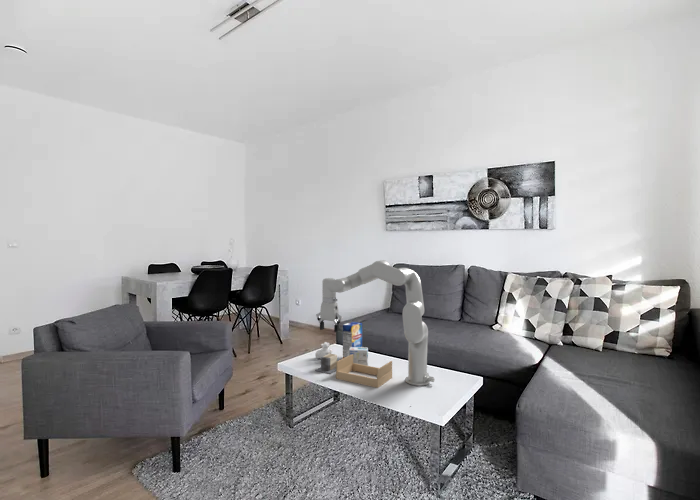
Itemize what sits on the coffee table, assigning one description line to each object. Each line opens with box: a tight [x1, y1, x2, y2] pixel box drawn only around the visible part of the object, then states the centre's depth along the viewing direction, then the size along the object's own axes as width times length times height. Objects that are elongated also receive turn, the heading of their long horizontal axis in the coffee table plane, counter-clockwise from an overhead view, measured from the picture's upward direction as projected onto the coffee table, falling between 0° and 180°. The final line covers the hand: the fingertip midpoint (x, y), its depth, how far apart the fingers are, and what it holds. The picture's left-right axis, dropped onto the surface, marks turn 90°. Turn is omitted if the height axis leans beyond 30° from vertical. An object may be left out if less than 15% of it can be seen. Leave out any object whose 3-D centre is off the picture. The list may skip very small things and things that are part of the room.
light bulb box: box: [349, 346, 369, 366], centre depth 230 cm, size 11×7×11 cm, turn 84°
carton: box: [335, 354, 393, 389], centre depth 211 cm, size 25×17×9 cm
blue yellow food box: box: [342, 321, 363, 359], centre depth 243 cm, size 7×11×22 cm, turn 143°
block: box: [320, 353, 338, 371], centre depth 224 cm, size 5×9×7 cm, turn 149°
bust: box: [315, 341, 333, 360], centre depth 245 cm, size 12×8×11 cm
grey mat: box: [315, 366, 336, 375], centre depth 225 cm, size 10×12×1 cm
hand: (329, 330), depth 224 cm, fingers open, 9 cm apart
